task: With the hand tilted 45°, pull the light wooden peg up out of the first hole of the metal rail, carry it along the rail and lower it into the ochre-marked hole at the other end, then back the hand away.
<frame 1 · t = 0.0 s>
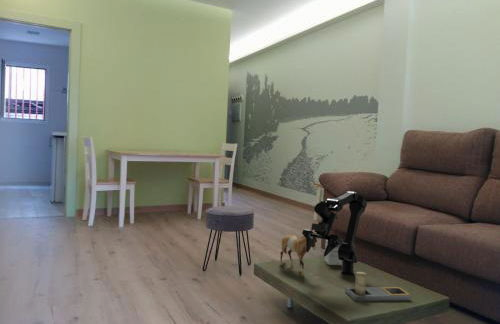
hand: (315, 254, 182), 15 cm above the table, tool tilted 35°, fingers open, 9 cm apart
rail: (377, 296, 174), on the table
horse figurine: (298, 269, 209), on the table
supplement box: (332, 263, 222), on the table
peg: (359, 296, 173), resting in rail
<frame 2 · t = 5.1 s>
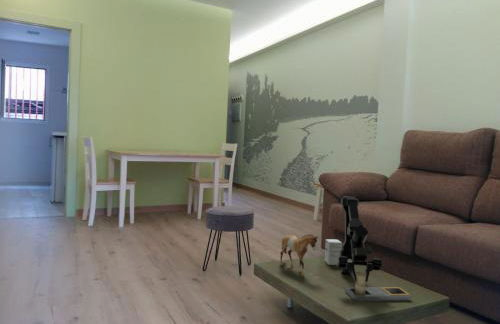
hand: (361, 281, 171), 7 cm above the table, tool tilted 45°, fingers closed on peg, 4 cm apart
peg: (359, 296, 173), resting in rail, touching gripper
everything else where it was.
when the fingers open (8 cm above the table, at t = 11.4 s): peg stays where it is, resting in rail.
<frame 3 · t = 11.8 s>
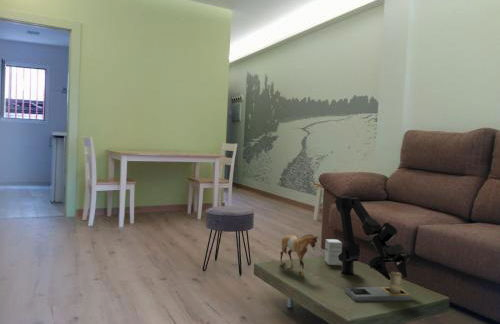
hand: (398, 278, 173), 8 cm above the table, tool tilted 45°, fingers open, 9 cm apart
peg: (394, 295, 175), resting in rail
everything else where it was.
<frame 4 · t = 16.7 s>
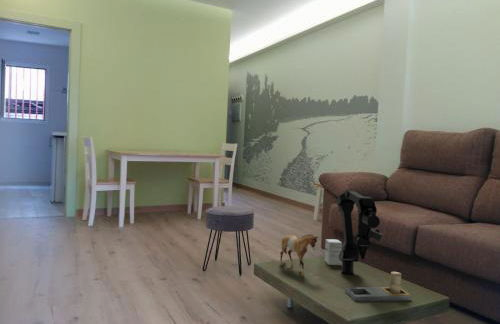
hand: (362, 256, 189), 13 cm above the table, tool pointing down, fingers open, 9 cm apart
nothing on the table moved.
at the end: peg 0.0 cm from the target spot, resting in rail; peg tilted 0°; the gripper is holding nothing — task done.
